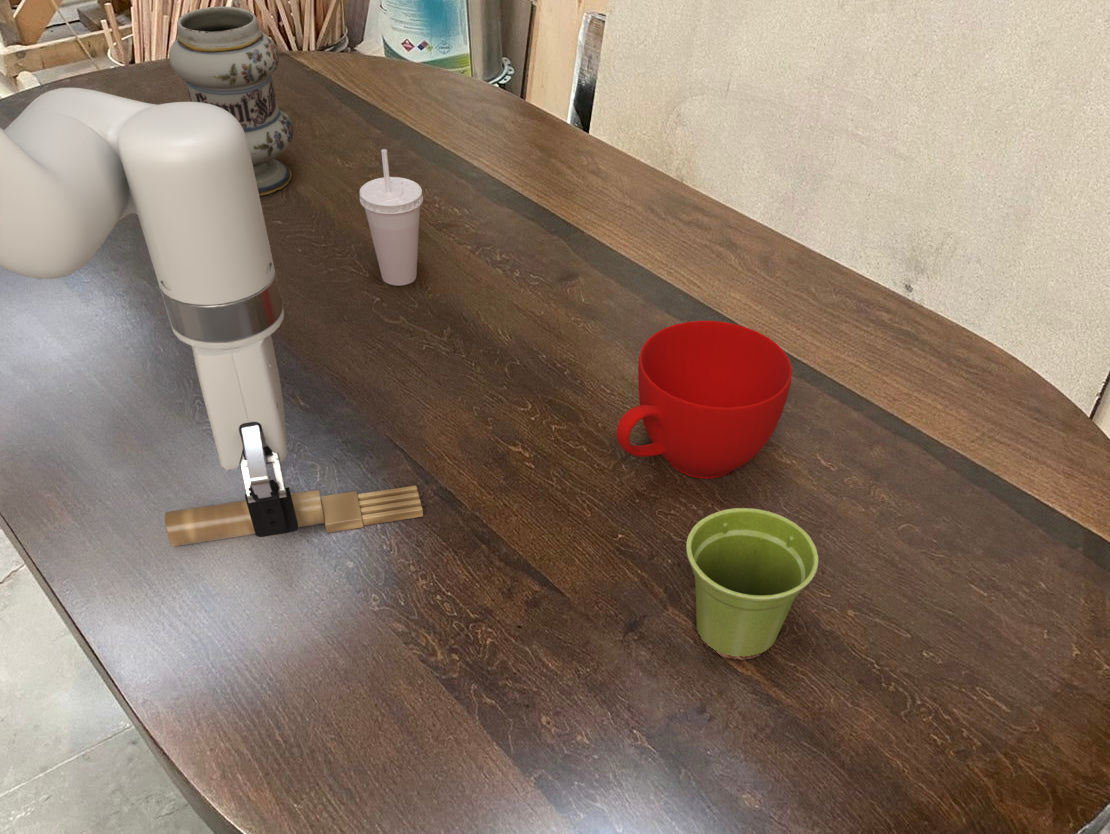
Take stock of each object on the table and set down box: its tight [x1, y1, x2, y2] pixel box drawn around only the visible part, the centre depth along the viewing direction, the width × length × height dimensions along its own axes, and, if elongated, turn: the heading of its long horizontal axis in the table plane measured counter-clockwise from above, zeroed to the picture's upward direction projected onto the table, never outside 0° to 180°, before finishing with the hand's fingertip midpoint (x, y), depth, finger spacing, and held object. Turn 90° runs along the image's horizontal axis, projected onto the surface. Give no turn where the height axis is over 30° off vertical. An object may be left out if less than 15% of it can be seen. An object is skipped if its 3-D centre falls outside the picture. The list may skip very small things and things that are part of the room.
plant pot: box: [685, 507, 819, 657], centre depth 79 cm, size 9×9×9 cm
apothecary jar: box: [168, 6, 294, 197], centre depth 123 cm, size 12×12×18 cm
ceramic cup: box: [616, 320, 793, 480], centre depth 92 cm, size 13×17×10 cm
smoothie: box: [359, 148, 424, 287], centre depth 110 cm, size 6×6×14 cm
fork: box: [164, 485, 424, 547], centre depth 87 cm, size 20×4×3 cm, turn 106°
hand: (272, 491), depth 85 cm, fingers open, 9 cm apart
